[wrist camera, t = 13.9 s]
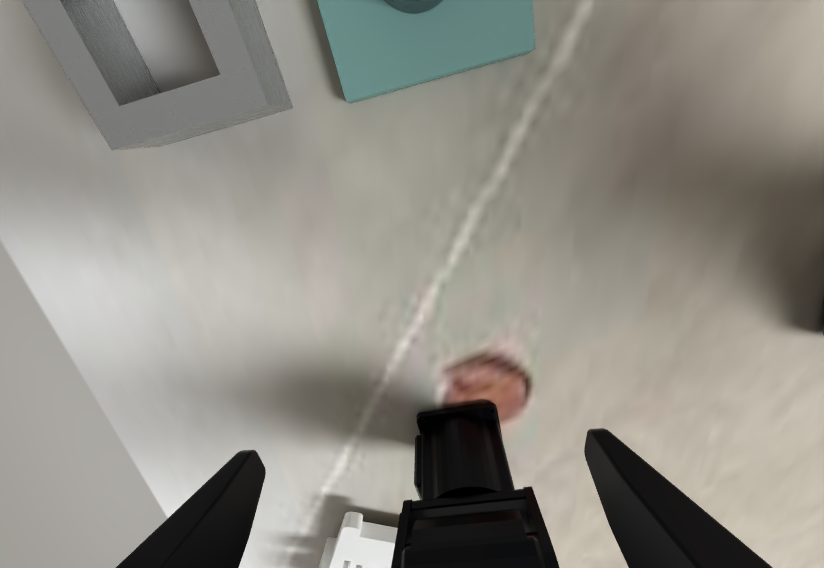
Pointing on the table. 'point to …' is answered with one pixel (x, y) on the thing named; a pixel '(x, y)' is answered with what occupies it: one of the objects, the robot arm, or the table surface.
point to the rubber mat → (421, 41)
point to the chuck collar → (133, 85)
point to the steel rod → (413, 5)
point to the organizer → (359, 545)
